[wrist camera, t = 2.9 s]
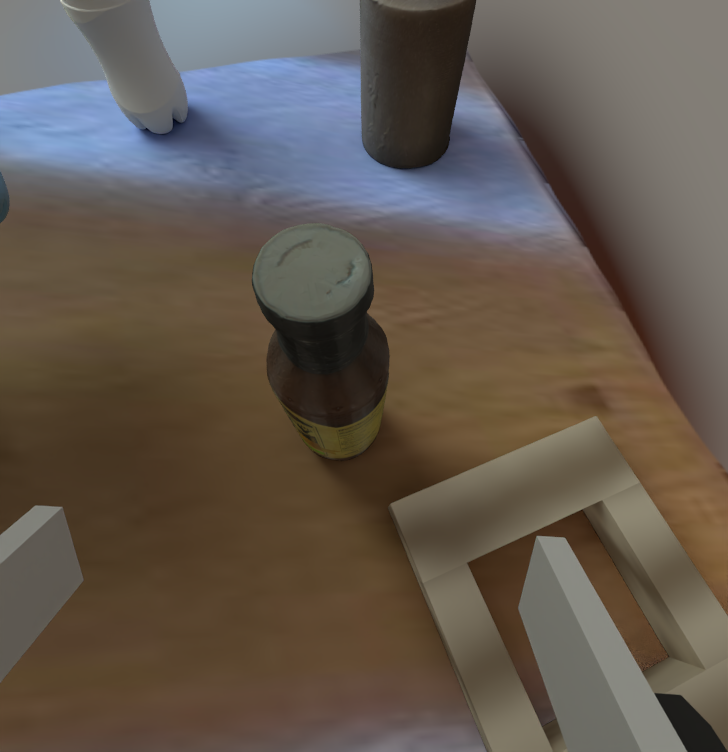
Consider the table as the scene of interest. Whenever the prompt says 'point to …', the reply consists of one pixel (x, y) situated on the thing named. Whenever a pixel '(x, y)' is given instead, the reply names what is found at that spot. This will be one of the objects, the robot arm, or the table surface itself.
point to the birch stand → (530, 513)
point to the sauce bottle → (323, 337)
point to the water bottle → (132, 60)
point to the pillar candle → (411, 76)
